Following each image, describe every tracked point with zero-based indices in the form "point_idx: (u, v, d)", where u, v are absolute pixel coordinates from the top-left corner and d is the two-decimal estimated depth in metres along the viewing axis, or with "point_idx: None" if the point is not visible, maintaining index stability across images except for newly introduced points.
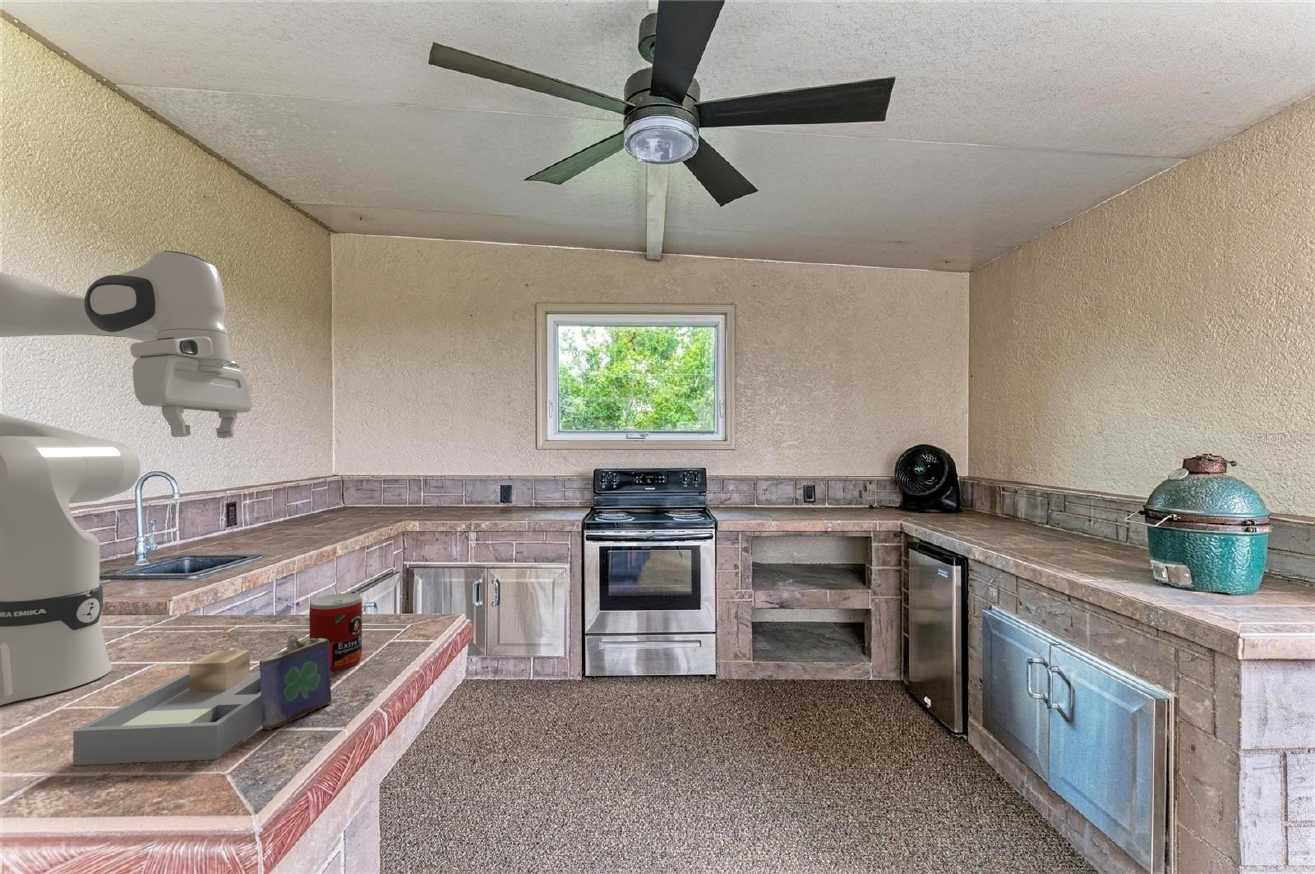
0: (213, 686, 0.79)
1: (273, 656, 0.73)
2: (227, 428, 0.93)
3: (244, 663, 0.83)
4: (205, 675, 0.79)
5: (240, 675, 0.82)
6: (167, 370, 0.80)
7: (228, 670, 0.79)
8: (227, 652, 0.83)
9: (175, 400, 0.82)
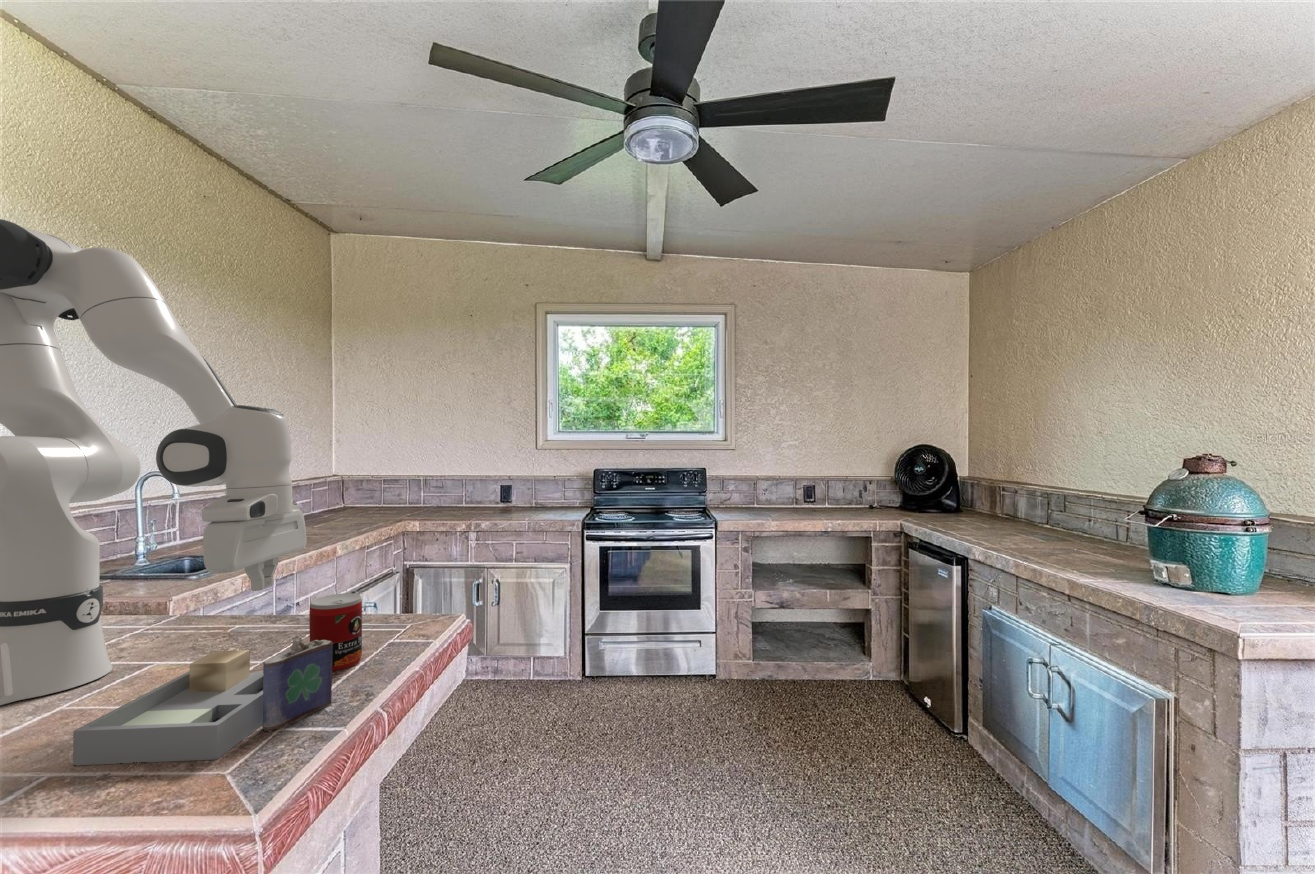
0: (213, 686, 0.79)
1: (277, 658, 0.73)
2: (268, 578, 0.90)
3: (244, 663, 0.83)
4: (205, 675, 0.79)
5: (240, 675, 0.82)
6: (237, 539, 0.81)
7: (228, 670, 0.79)
8: (227, 652, 0.83)
9: (241, 566, 0.83)
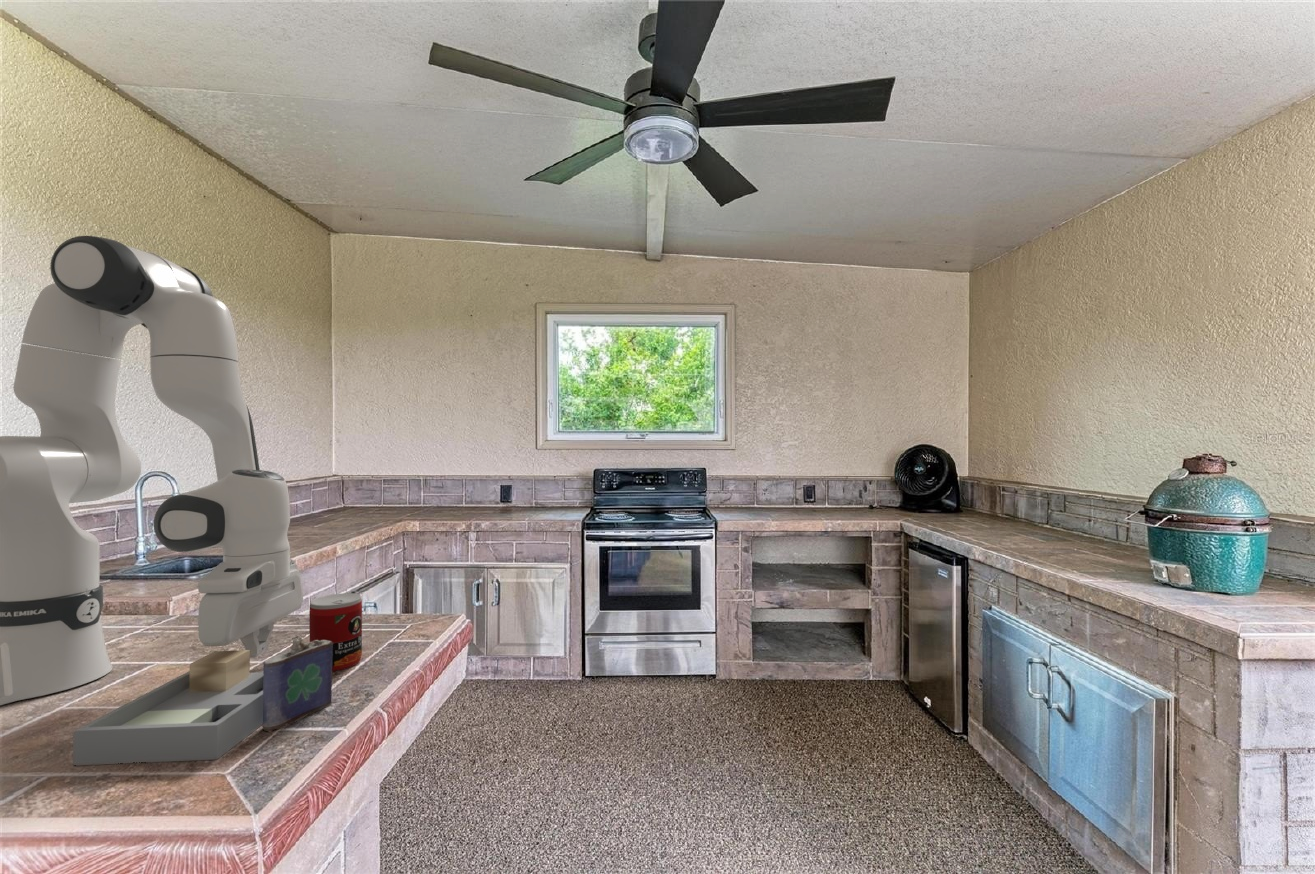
0: (213, 686, 0.79)
1: (277, 658, 0.73)
2: (263, 644, 0.90)
3: (244, 663, 0.83)
4: (205, 675, 0.79)
5: (240, 675, 0.82)
6: (232, 612, 0.81)
7: (228, 670, 0.79)
8: (227, 652, 0.83)
9: (236, 637, 0.82)
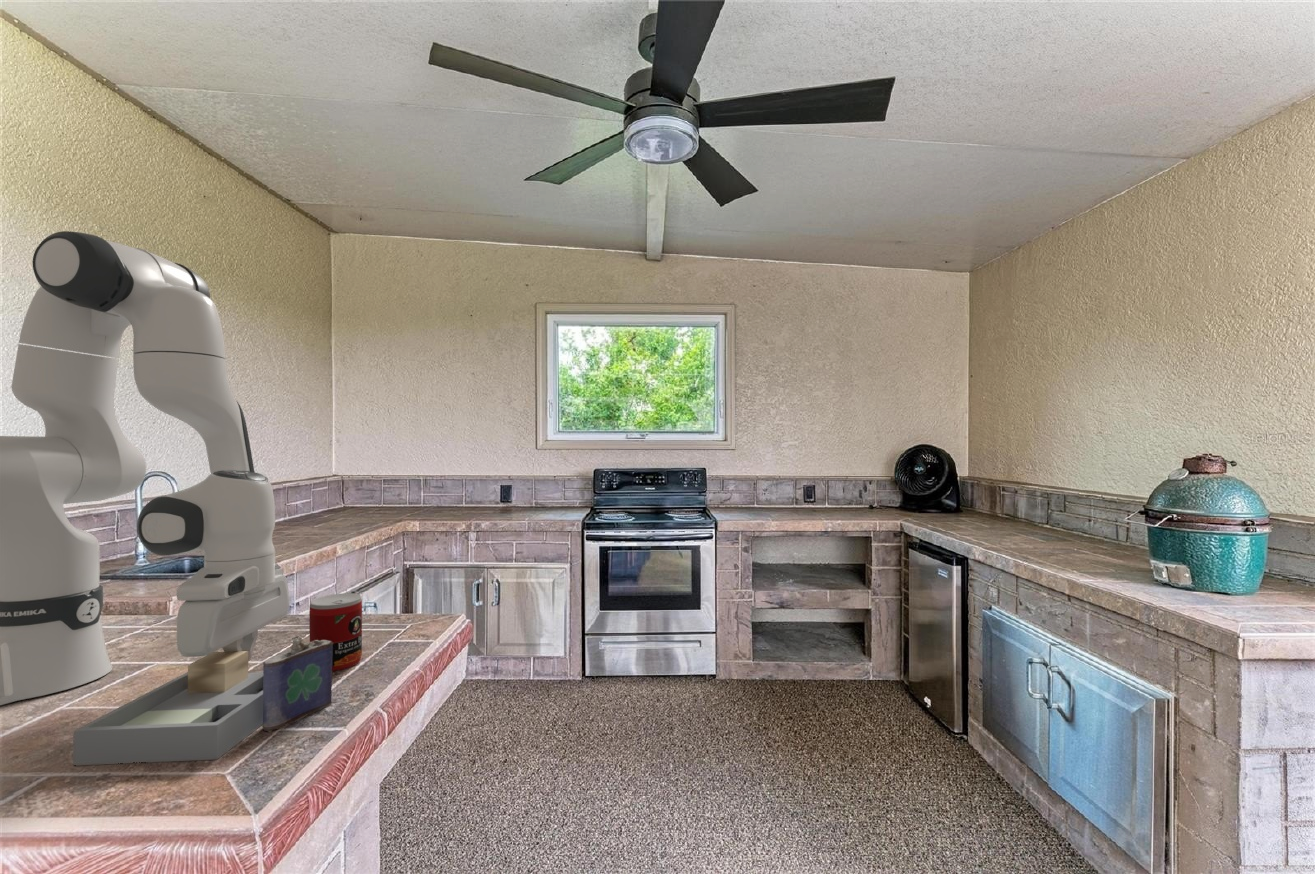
0: (212, 687, 0.78)
1: (277, 658, 0.73)
2: None
3: (243, 664, 0.82)
4: (203, 676, 0.78)
5: (239, 676, 0.81)
6: (213, 621, 0.77)
7: (226, 671, 0.79)
8: (225, 653, 0.83)
9: (217, 647, 0.78)
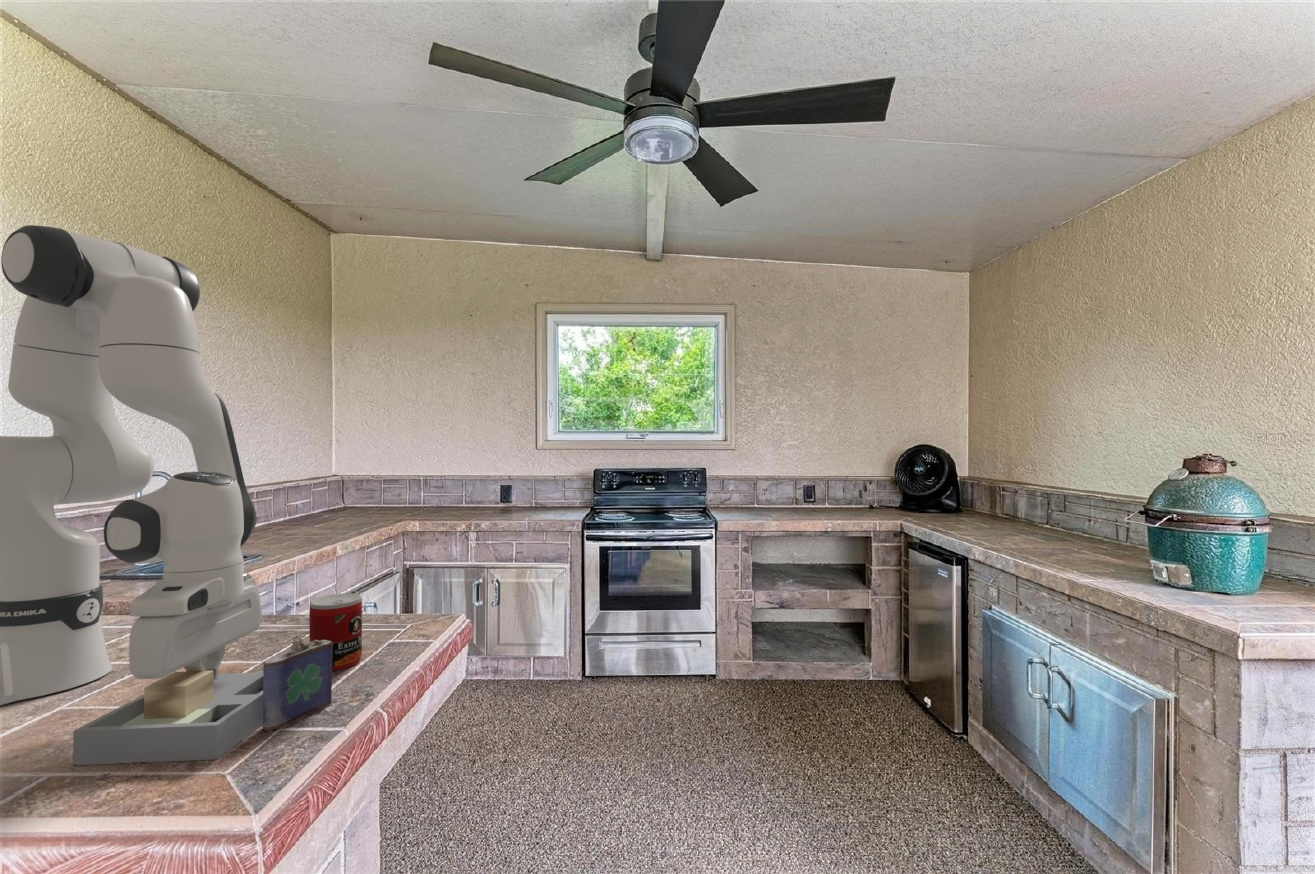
0: (171, 712, 0.71)
1: (277, 658, 0.73)
2: None
3: (207, 685, 0.75)
4: (161, 700, 0.71)
5: (202, 698, 0.74)
6: (170, 639, 0.69)
7: (187, 694, 0.72)
8: (188, 673, 0.75)
9: (176, 668, 0.71)
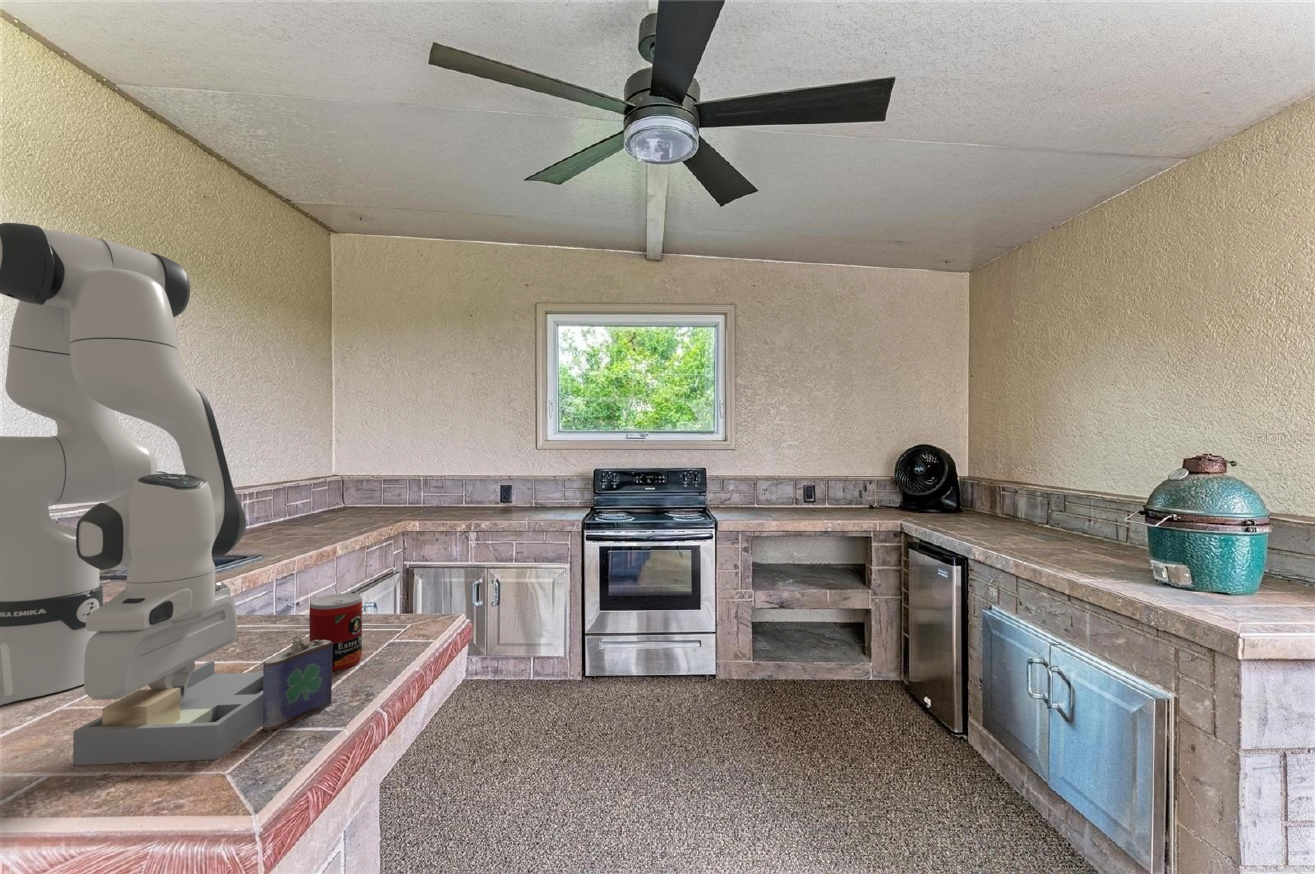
0: None
1: (277, 657, 0.73)
2: None
3: (173, 704, 0.69)
4: (121, 722, 0.65)
5: (167, 719, 0.69)
6: (129, 656, 0.64)
7: (150, 715, 0.66)
8: (153, 691, 0.70)
9: (136, 687, 0.65)
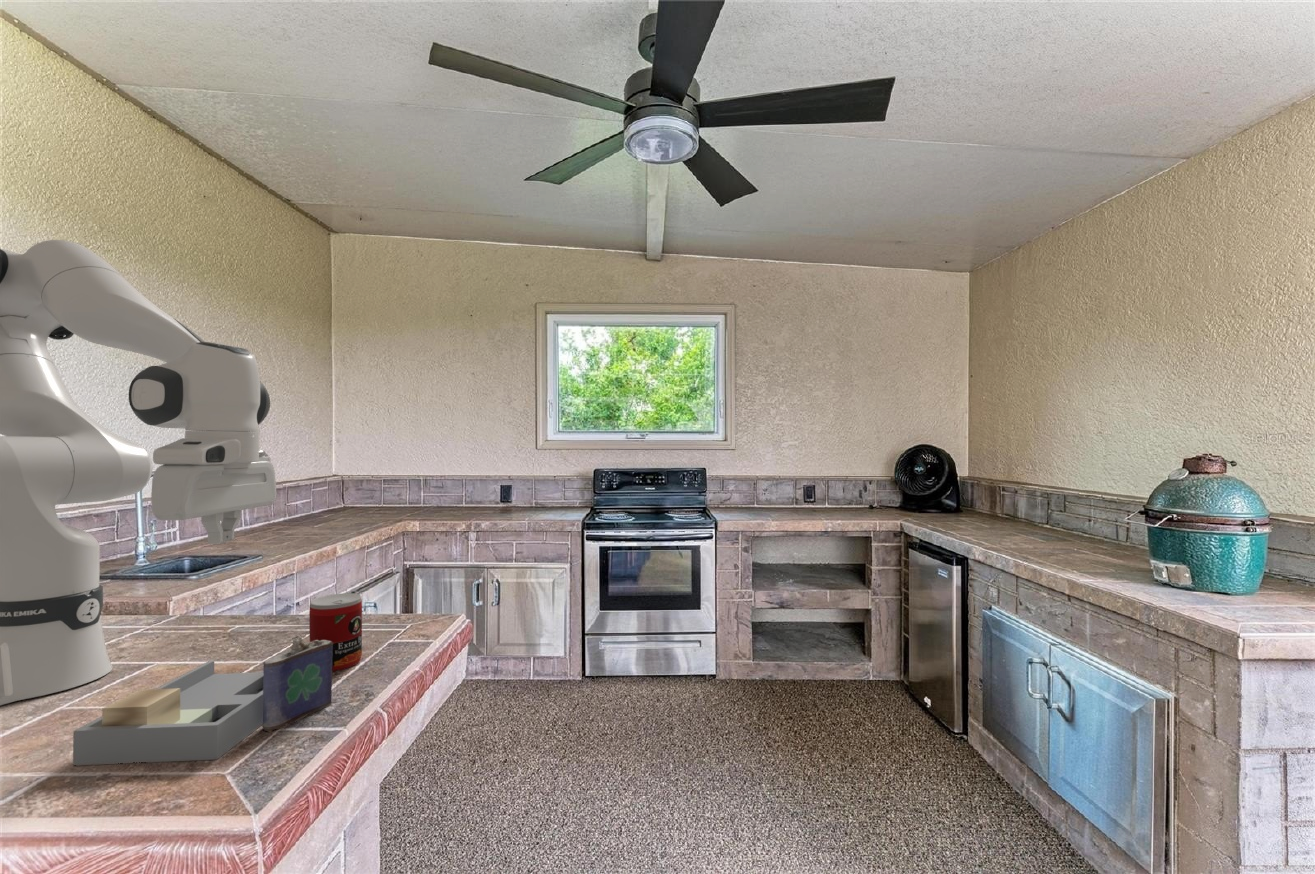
0: None
1: (277, 658, 0.73)
2: (227, 532, 0.83)
3: (173, 704, 0.69)
4: (121, 722, 0.65)
5: (167, 719, 0.69)
6: (189, 484, 0.74)
7: (149, 715, 0.66)
8: (152, 691, 0.70)
9: (194, 514, 0.75)
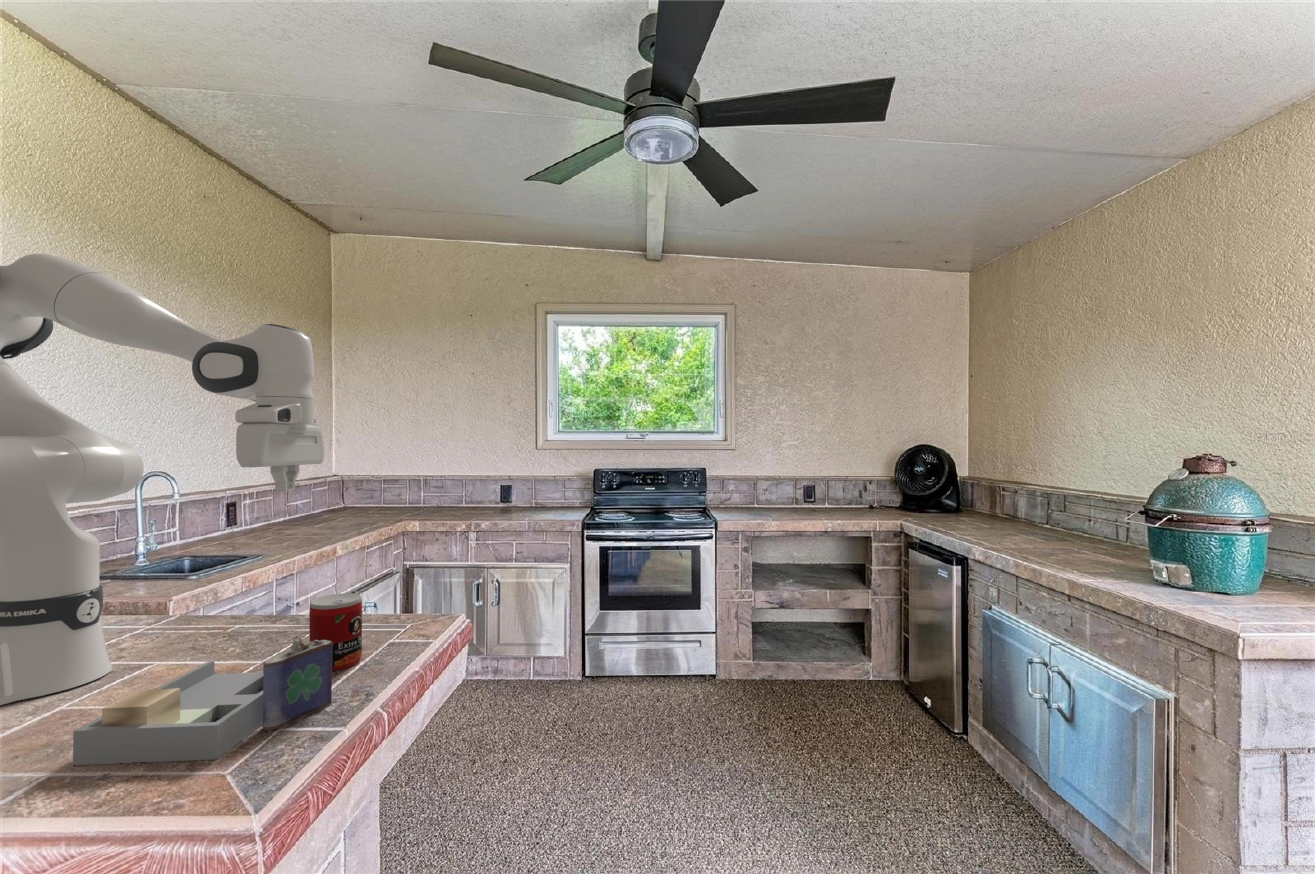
0: None
1: (277, 658, 0.73)
2: (290, 482, 1.00)
3: (173, 704, 0.69)
4: (121, 722, 0.65)
5: (167, 719, 0.69)
6: (266, 438, 0.91)
7: (149, 715, 0.66)
8: (152, 691, 0.70)
9: (269, 463, 0.92)
